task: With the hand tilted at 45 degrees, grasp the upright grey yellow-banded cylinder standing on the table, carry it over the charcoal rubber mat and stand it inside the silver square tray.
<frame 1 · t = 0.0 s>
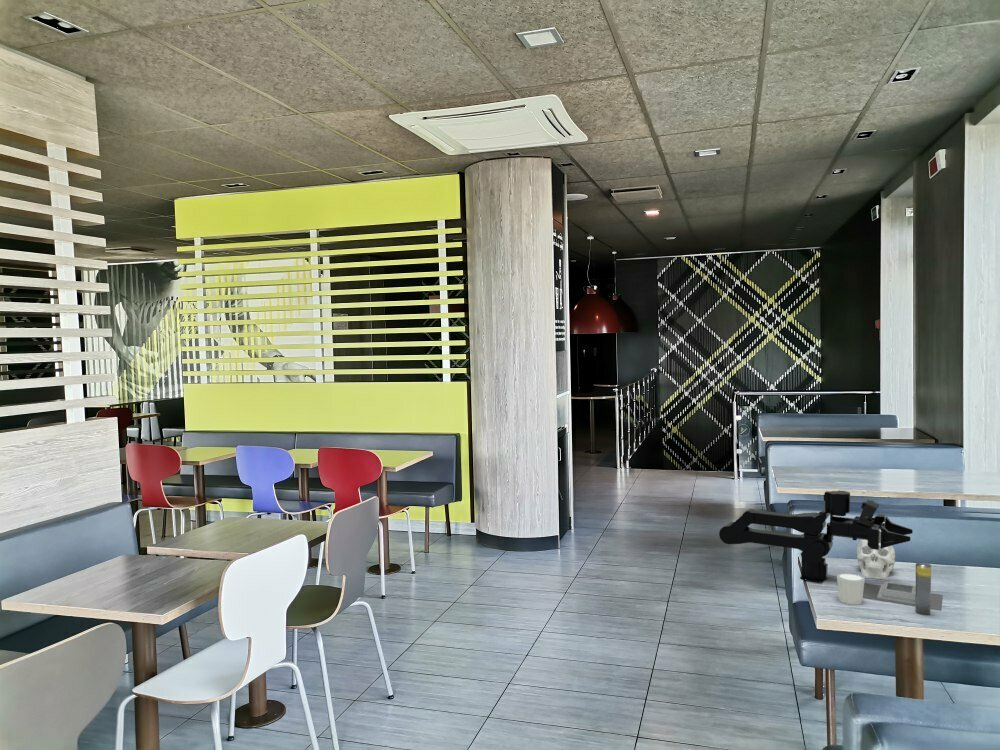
hand: (911, 535, 203), 17 cm above the table, tool horizontal, fingers open, 9 cm apart
skull bowl: (875, 573, 222), on the table
silver square tray: (899, 597, 200), resting on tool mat
shot glass: (850, 603, 197), on the table
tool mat: (895, 596, 201), on the table
grey yellow-banded cylinder: (922, 614, 188), on the table
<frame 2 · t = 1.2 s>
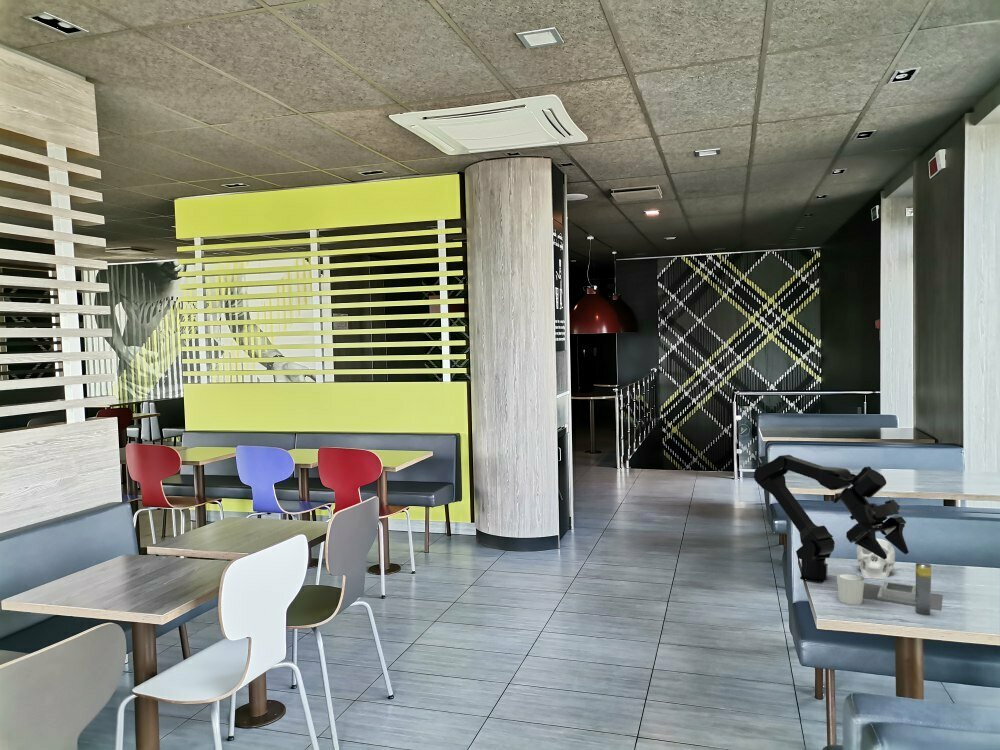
hand: (896, 556, 194), 13 cm above the table, tool tilted 45°, fingers open, 9 cm apart
nothing on the table moved.
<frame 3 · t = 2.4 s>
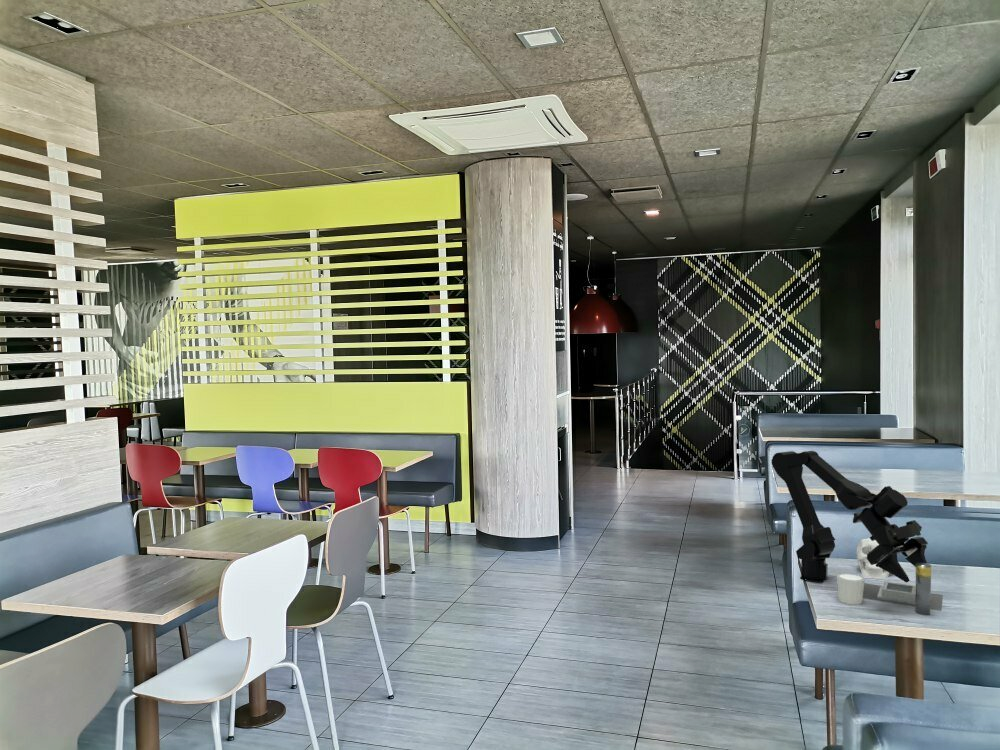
hand: (919, 578, 189), 9 cm above the table, tool tilted 45°, fingers open, 9 cm apart
nothing on the table moved.
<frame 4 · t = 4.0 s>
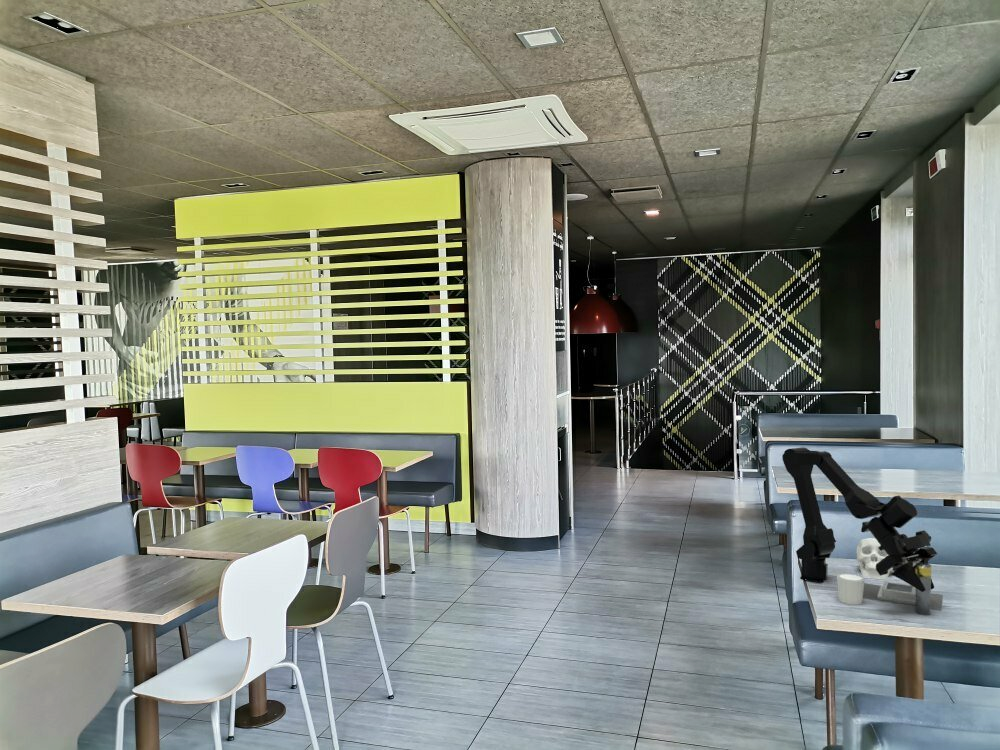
hand: (928, 589, 186), 7 cm above the table, tool tilted 45°, fingers closed on grey yellow-banded cylinder, 3 cm apart
grey yellow-banded cylinder: (922, 614, 188), on the table, touching gripper
everything else where it was.
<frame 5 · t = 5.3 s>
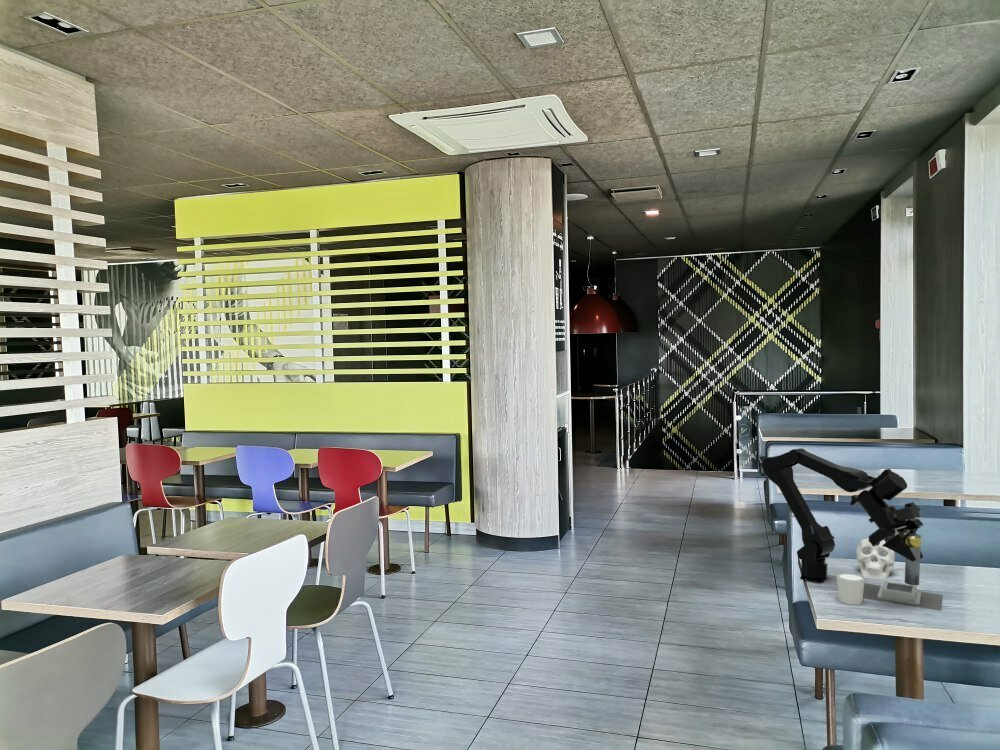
hand: (918, 559, 192), 13 cm above the table, tool tilted 45°, fingers closed on grey yellow-banded cylinder, 3 cm apart
grey yellow-banded cylinder: (911, 583, 194), point 6 cm above the table, touching gripper
everything else where it was.
when the fingers open (9 cm above the table, at t = 7.0 s): grey yellow-banded cylinder stays where it is, resting on silver square tray.
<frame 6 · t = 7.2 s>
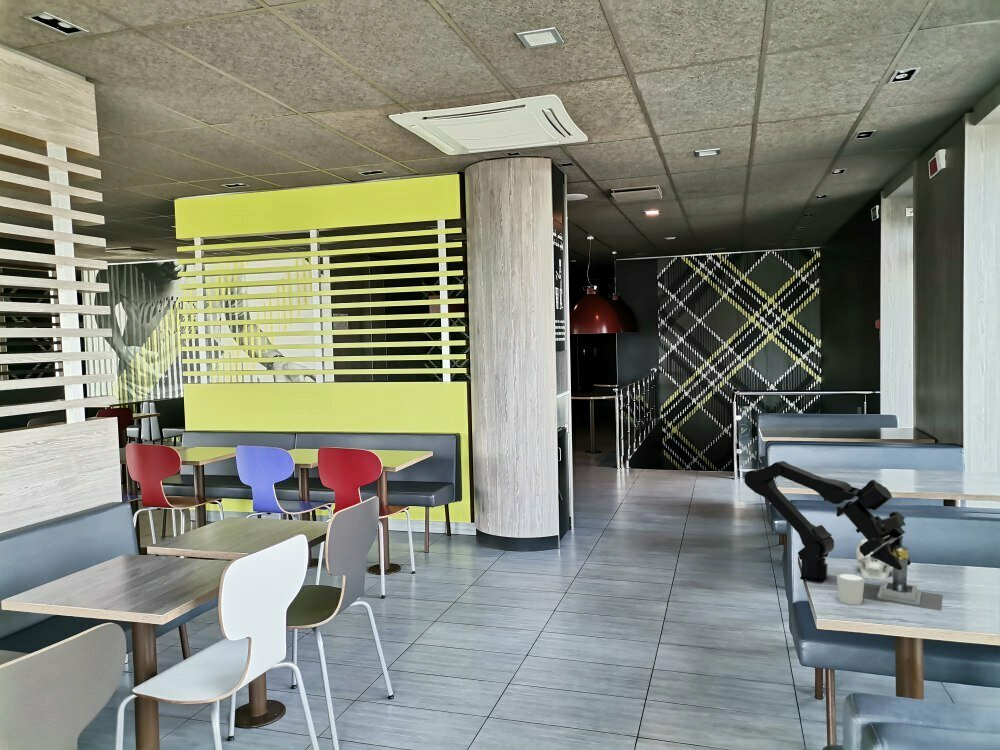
hand: (905, 566, 198), 9 cm above the table, tool tilted 45°, fingers open, 6 cm apart
grey yellow-banded cylinder: (899, 593, 200), point 1 cm above the table, touching silver square tray
everything else where it was.
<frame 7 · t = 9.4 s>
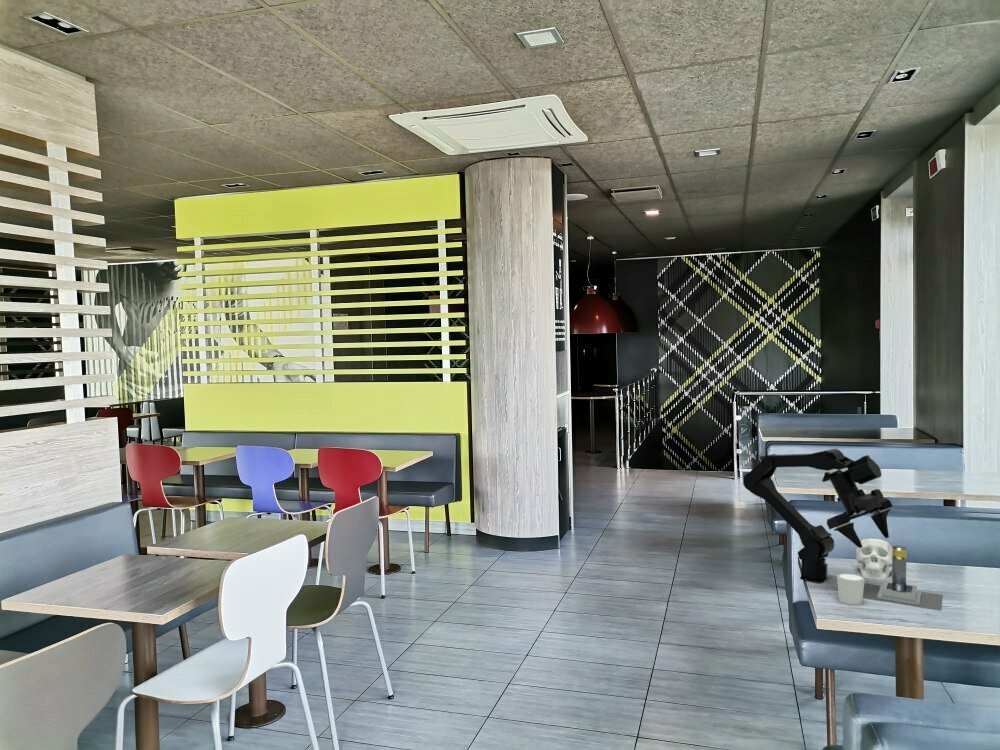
hand: (874, 542, 203), 14 cm above the table, tool tilted 30°, fingers open, 9 cm apart
nothing on the table moved.
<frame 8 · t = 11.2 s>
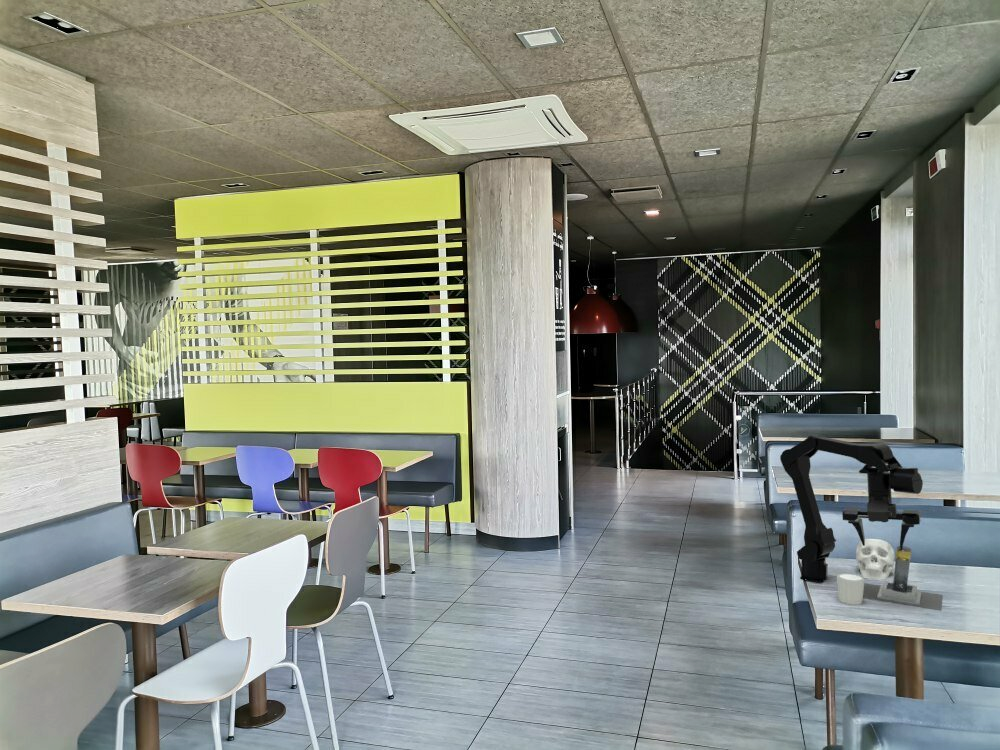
hand: (882, 546, 200), 14 cm above the table, tool pointing down, fingers open, 9 cm apart
grey yellow-banded cylinder: (899, 593, 200), point 1 cm above the table, tilted 7°, touching silver square tray, gripper
at the end: grey yellow-banded cylinder 0.1 cm off-centre on the silver square tray, point 1.0 cm above the silver square tray's base; grey yellow-banded cylinder tilted 7°; the gripper is holding nothing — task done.
